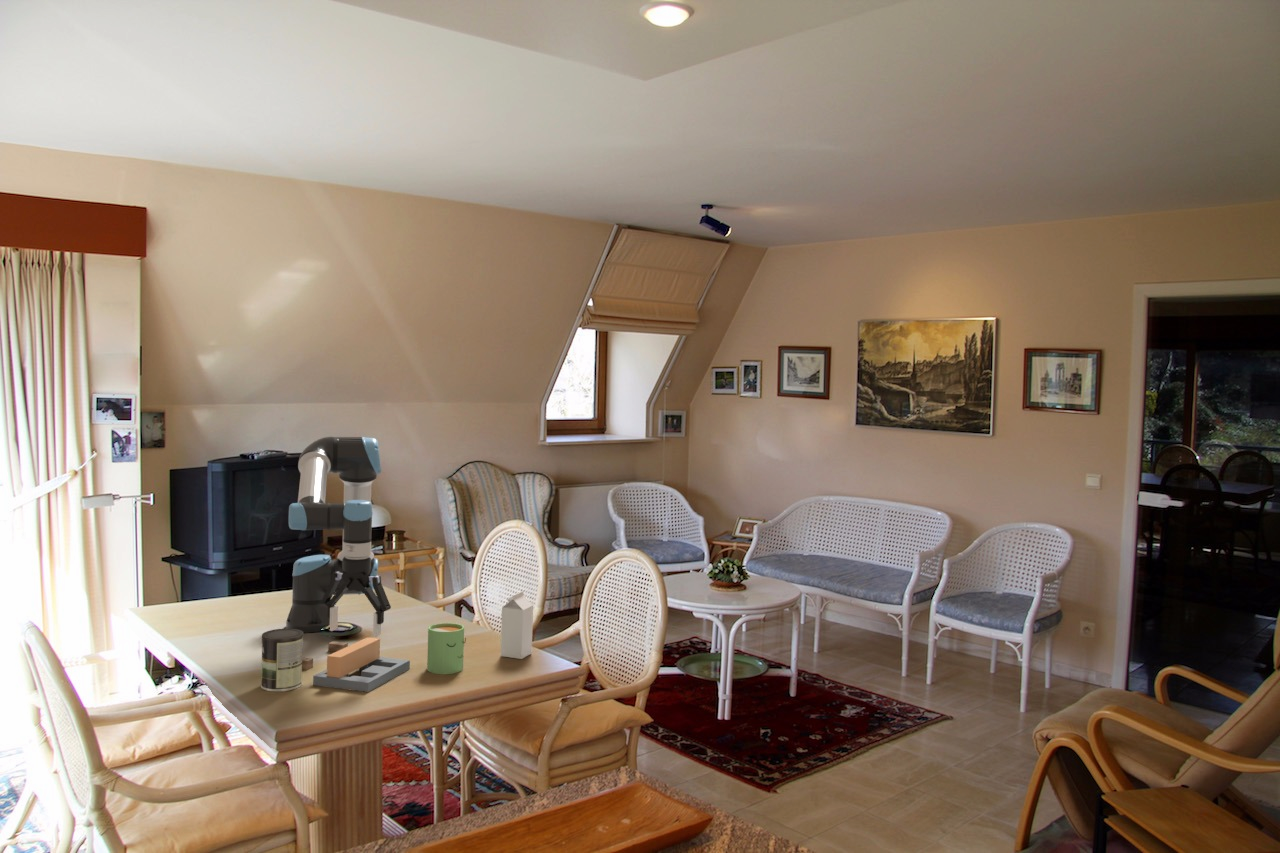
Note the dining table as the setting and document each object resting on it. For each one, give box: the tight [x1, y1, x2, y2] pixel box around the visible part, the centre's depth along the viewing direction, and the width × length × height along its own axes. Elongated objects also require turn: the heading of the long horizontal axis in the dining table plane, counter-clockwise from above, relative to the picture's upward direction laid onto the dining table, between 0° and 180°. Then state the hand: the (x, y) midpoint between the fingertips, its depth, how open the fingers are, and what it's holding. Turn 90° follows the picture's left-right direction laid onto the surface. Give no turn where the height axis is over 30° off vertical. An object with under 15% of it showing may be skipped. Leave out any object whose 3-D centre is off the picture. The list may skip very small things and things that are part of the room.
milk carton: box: [500, 590, 534, 660], centre depth 283 cm, size 7×7×19 cm
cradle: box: [302, 641, 349, 671], centre depth 272 cm, size 5×20×2 cm, turn 165°
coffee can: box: [260, 628, 304, 693], centre depth 247 cm, size 10×10×14 cm
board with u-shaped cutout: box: [312, 656, 411, 693], centre depth 257 cm, size 16×22×2 cm
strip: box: [326, 637, 381, 678], centre depth 258 cm, size 4×20×8 cm, turn 165°
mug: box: [426, 622, 467, 675], centre depth 268 cm, size 13×10×12 cm
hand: (355, 632), depth 258 cm, fingers open, 13 cm apart
